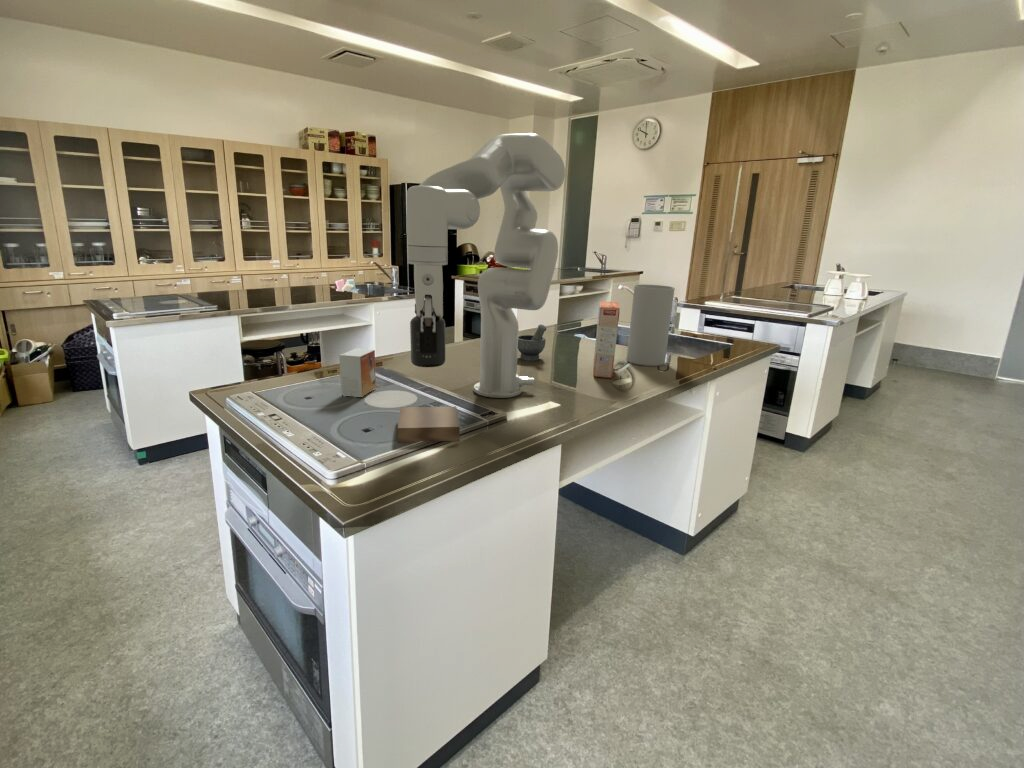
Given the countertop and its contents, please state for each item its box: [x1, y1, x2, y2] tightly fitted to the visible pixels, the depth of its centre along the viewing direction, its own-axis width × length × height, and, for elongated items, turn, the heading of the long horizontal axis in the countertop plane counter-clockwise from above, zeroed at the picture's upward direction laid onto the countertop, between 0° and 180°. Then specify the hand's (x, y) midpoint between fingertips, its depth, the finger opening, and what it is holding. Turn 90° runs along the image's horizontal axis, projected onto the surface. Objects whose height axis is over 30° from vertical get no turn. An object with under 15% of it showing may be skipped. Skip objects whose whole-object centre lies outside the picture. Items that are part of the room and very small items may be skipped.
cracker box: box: [593, 300, 621, 379], centre depth 154 cm, size 14×6×21 cm, turn 171°
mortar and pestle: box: [518, 324, 547, 361], centre depth 168 cm, size 11×9×12 cm
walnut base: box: [397, 406, 461, 443], centre depth 106 cm, size 12×12×3 cm
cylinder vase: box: [626, 284, 675, 367], centre depth 168 cm, size 12×12×25 cm
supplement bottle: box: [409, 302, 446, 368], centre depth 101 cm, size 7×7×12 cm
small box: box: [338, 347, 377, 398], centre depth 127 cm, size 8×6×10 cm
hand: (428, 347), depth 102 cm, fingers closed on supplement bottle, 6 cm apart
